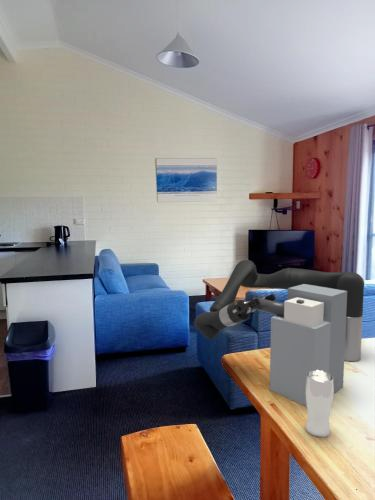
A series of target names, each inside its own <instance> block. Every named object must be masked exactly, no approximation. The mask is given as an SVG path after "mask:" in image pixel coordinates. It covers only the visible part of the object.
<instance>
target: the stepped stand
mask: <svg viewBox="0 0 375 500" xmlns="http://www.w3.org/2000/svg"><path fill="white" fill-rule="evenodd" d="M296 297H298V298H303V299H308V300H313V301H318V302H323V303H324V315H323V323H320V324H318V325H315V326H313V327H308V326H304V325H300V324H296V323H293V322H289V321H285V320H284V316H280V315H273V316H272V317H270V348H269V349H270V352H269V353H270V354H269V355H270V357H269V359H270V360H269V390H270V391H272V392H274V393H276V394H279V395H281V396H283V397H284V398H287V399H289V400H291V401H294V402H296V403H298V404H300V405H303V406H304V407H307V405H306V398H305V383H306V374H307V372H308V371H311V370H320V371H325V372H327V373H329V374H331V375H332V376H333V384H334V394H336V393H338V392H339V391H340V390H342V389H343V388H344V374H345V373H344V371H345V370H344V369H345V360H344V354H345V331H346V308H347V291H344V290H338V289H332V288H326V287H320V286H314V285H308V284H302V285H298V286H294V287H291V288H288V290H287V300H290V299H293V298H296Z"/></svg>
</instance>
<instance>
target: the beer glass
mask: <svg viewBox="0 0 375 500" xmlns="http://www.w3.org/2000/svg"><path fill="white" fill-rule="evenodd" d="M334 395H335V393H334V384H333V376H332V375H331V374H329V373H327V372H325V371H320V370H311V371H308V372H307V374H306V383H305V398H306V405H307V406H306V411H307V419H306V422H305V429H306V431H307V433H309V434H310V435H312V436H314V437H318V438H325V437H328V436H330V434H331V427H330V415H331V411H332V407H333V401H334Z"/></svg>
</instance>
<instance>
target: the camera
mask: <svg viewBox="0 0 375 500" xmlns="http://www.w3.org/2000/svg"><path fill="white" fill-rule="evenodd" d="M256 298H258V299H259V301H260V305H257V306H255V307H253V309H256V310H255V311H260V312H264V313H265V312H266V313H269V314H271V315H275V316H277V315H280V316H284V320H285V321H289V322H293V323H296V324H300V325H304V326H308V327H313V326H315V325H318V324H320V323H323V315H324V303H323V302H318V301H313V300H308V299H303V298H298V297H296V298H293V299H290V300H288V299H287V300H284V303H283V302H279V301H276V300H274V301H270V300H266V299H261V297H256V296H255V297H253V298H252V299H251V300H253V299H256Z"/></svg>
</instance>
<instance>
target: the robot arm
mask: <svg viewBox="0 0 375 500" xmlns="http://www.w3.org/2000/svg"><path fill="white" fill-rule="evenodd" d="M302 284H308V285H314V286H320V287H326V288H332V289H338V290H344V291H347V308H346V331H345V354H344V362H345V361H346V362H358V361H360V360H361V359H362V358H361V355H362V336H363V315H364V313H363V311H364V291H365V280H364V278H363V277H362V275H360V274H358V273H356V272H354V271H348V272H347V271H346V272H345V271H343V272H341V271H340V272H333V271H332V272H330V271H329V272H327V271H319V270H311V269H304V268H296V267H295V268H294V267H293V268H292V267H287V268H283V269H281V270H278V271H276V272H274V273H270V274H269V273H268V274H266V273H265V274H264V273H263V274H262V273H258V272H257V266H256V265H255V263H254V262H253V261H252V260H250V259H243V260H240V261H239V262H238V263H237V264H236V265H235V267H234V268H233V270H232V273H231V274H230V276H229V279H228V280H227V282H226V284H225V285H224V287H223V289H222V291H221V292H220V293H219V295H218V296H217V298H216V299H215V301H214V302H213V303H212V304H211V305H210V307H209V311H207V312H202V313H200V314H198V315H197V316H196V317H195V318H194V322H193V324H194V326H195V328H196V329H197V331H199V332H200V333H201V335H203V336H204V338H206V339H207V340H214V339H215V338H217V336H218V335H219V333H220V332H221V330H224V329H227V328H229V327H231V326H233V327H234V326H236V325H237V324H240V323H243V322H245V321H248V320H249V319H250V316H251V313H254V312H256V311H257V310H256V309H253V307H255V306H257V305H260V301H259V299H258V298H259V297H257V298H256V299H253V298H252V299H253V300H252V299H251V300H249V301H248V300H247V301H244V300H242V299H237V297H238V296H237V295H238V293H239V289H240V288H241V287H244V288H250V289H251V288H252V289H262V288H263V289H275V290H276V289H277V290H287V291H288V288H291V287H294V286H298V285H302ZM260 298H261V297H260ZM261 299H266V300H270V301H276V296H275V294H274V293H272V294H270V295H269V294H268V295H266V296H263V297H262V298H261Z"/></svg>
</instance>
